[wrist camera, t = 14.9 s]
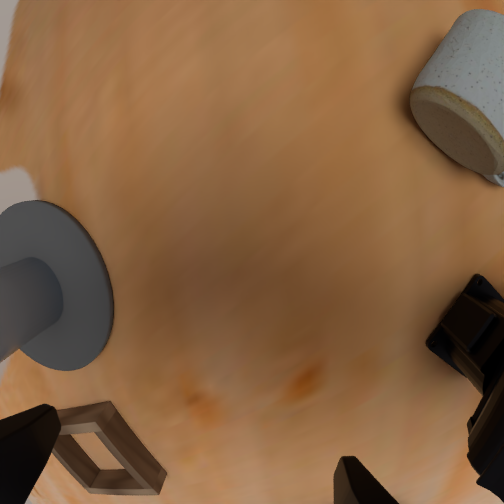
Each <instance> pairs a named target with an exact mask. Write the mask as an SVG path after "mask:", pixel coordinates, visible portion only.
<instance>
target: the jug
mask: <svg viewBox="0 0 504 504" xmlns="http://www.w3.org/2000/svg"><path fill="white" fill-rule="evenodd" d="M62 311H63V294H62V289H61V286H60V283H59V281H58V279H57V277H56V275H55V274H54V272H53V271H52V269H51V268H50V267H49V266H48V265H47V264H46V263H45V262H44V261H42V260H40V259H38V258H35V257H27V258H24V259H21V260H19V261H16V262H13V263H11V264H8V265H5V266H3V267H0V362H2V361H3V360H5V359H6V358H7V357H9V356H10V355H11V354H13V353H14V352H15V351H17V350H18V349H20V348H21V347H22V346H24V345H25V344H26V343H28V342H29V341H31V340H32V339H33V338H35V337H36V336H38V335H39V334H40V333H42V332H43V331H45V330H46V329H47V328H49V327H50V326H52V325H53V324H54V323H56V322H57V321H58V320H59V318H60V317H61V314H62Z"/></svg>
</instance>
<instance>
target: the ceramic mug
mask: <svg viewBox="0 0 504 504" xmlns="http://www.w3.org/2000/svg"><path fill="white" fill-rule="evenodd" d="M410 107H411V110H412V114H413V116H414V118H415V120H416V122H417V123H418V125H419V127H420V128H421V129H422V130H423V132H424V133H425V134H426V135H427V136H428V138H429V139H430V140H431V141H432V142H433V143H434V144H435V145H436V146H437V147H439V148H440V149H441V150H442V151H443V152H444V153H446V154H447V155H448V156H449V157H451V158H452V159H453V160H455V161H456V162H458V163H459V164H461V165H463V166H464V167H466V168H468V169H470V170H472V171H475V172H477V173H480V174H482V175H483V176H484V177H485V178H486V179H487V180H489V181H491V182H493V183H495V184H496V185H499V186H501V187H504V15H502V14H500V13H497V12H494V11H490V10H484V9H474V10H470V11H467V12H465V13H463V14H462V15H460V16H459V17H458V18H457V20H456V21H455V22H454V24H453V26H452V27H451V29H450V31H449V32H448V33H447V35H446V36H445V38H444V39H443V40H442V42H441V43H440V45H439V46H438V48H437V49H436V51H435V53H434V54H433V56H432V57H431V58H430V60H429V61H428V62H427V64H426V65H425V67H424V68H423V69H422V71H421V72H420V74H419V75H418V77H417V79H416V81H415V83H414V86H413V88H412V90H411V94H410ZM497 174H499V175H497Z"/></svg>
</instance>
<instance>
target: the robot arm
mask: <svg viewBox="0 0 504 504" xmlns="http://www.w3.org/2000/svg"><path fill="white" fill-rule="evenodd" d="M479 279H480V281H479V283H478V284H477V282H478V280H479ZM433 341H435V342H434V344H433V345H431V343H432V342H433ZM426 346H427V347H428V348H429V350H431V351H432V352H433V353H435V354H436V355H437V356H439V357H440V358H441V359H443V360H444V361H445V362H447V363H448V364H449V365H451V366H452V367H453V368H454V369H456V370H457V371H458V372H460V373H461V374H462V375H464V376H465V377H466V378H468V379H469V380H470V382H471V383H472V384H473V385H474V386H475V387H476V389H477V390H478V391H479V392H480V394H481V395H482V396H483V397H482V399H481V401H480V403H479V405H478V407H477V409H476V411H475V412H474V414H473V416H472V417H470V419H469V421H468V422H467V428H468V433H469V437H468V448H469V452H468V453H467V457H468V460H469V462H470V464H471V466H472V467H473V468H474V470H475V471H476V472H477V474H479V475H480V477H479V478H478V479H477V481H476V483H477V484H478V485H480V486H482V487H484V488H486V489H488V490H490V491H491V492H492V493H494V494H495V495H496V496H498V497H499V498H500V499H501V500H502V501H503V502H504V299H503V298H502V297H501V296H500V294H499V293H498V292H497V291H496V290H495V289H494V288H493V286H492V285H491V284H490V283H489V282H488V281H487V280H486V279H485V278H484V277H483V276H482V275H480V274H477V275H475V276H474V277H473V279H472V280H471V282H470V283H469V285H468V286H467V287H466V289H465V290H464V292H463V293H462V295H461V296H460V297H459V299H458V300H457V302H456V303H455V304H454V306H453V307H452V308H451V310H450V311H449V312H448V314H447V315H446V316H445V318H444V319H443V320H442V322H441V323H440V324H439V325H438V327H437V328H436V329H435V331H434V332H433V333H432V334H431V336H430V337H429V338H428V339H427V341H426ZM60 431H61V422H60V419H59V417H58V413H57V410H56V409H55V407H53V406H50V405H48V404H42V405H39V406H36V407H34V408H31V409H29V410H26V411H23V412H21V413H18V414H15V415H13V416H10V417H7V418H4V419H2V420H0V504H25V502H26V500H27V498H28V496H29V494H30V493H31V491H32V489H33V487H34V485H35V483H36V482H37V480H38V478H39V476H40V474H41V473H42V471H43V469H44V467H45V465H46V464H47V461H48V459H49V457H50V455H51V452H52V450H53V447H54V445H55V443H56V441H57V438H58V436H59V434H60ZM333 480H334V504H399V503H398V502H397V501H396V500H395V499H394V498H393V497H392V496H391V495H390V494H389V493H388V491H387V490H386V489H385V488H384V487H383V486H382V485H381V484H380V483H379V482H378V481H377V480H376V479H375V477H374V476H373V475H372V474H371V473H370V472H369V471H368V470H367V469H366V468H365V467H364V465H363V464H362V463H361V462H360V461H359V460H358V459H357V458H356V457H355V456H342V457H341V458H340V460H339V462H338V465H337V467H336V470H335V473H334V479H333Z"/></svg>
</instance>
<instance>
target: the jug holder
mask: <svg viewBox="0 0 504 504" xmlns="http://www.w3.org/2000/svg"><path fill="white" fill-rule="evenodd" d="M57 413H58V417H59V419H60V422H61V431H60V434H59V436H58V438H57V441H56V443H55V445H54V447H53V450H52V453H53V455H54V456H55V457H56V458H57V459H58V460H59V461H60V463H61V464H62V465H63V466H64V467H65V468H66V469H67V470H68V472H69V473H70V474H71V475H72V476H73V477H74V478H75V479H76V480H77V481H78V482H79V483H80V484H81V485H82V486H83V487H84V488H85V489H86V490H87V491H88V492H89V493H91V494H107V495H159V494H160V491H161V489H162V486H163V483H164V481H165V478H166V475H167V472H166V471H165V470H164V469H163V468H162V467H161V466H160V465H159V463H158V462H157V461H156V460H155V459H154V458H153V456H152V455H151V454H150V453H149V452H148V450H147V449H146V448H145V447H144V445H143V444H142V443H141V442H140V441H139V439H138V438H137V437H136V435H135V434H134V433H133V432H132V430H131V429H130V428H129V426H128V425H127V424H126V422H125V421H124V420H123V418H122V417H121V416H120V414H119V413H118V412H117V410H116V409H115V407H114V406H113V404H112V403H111V402H110V401H108V402H103V403H98V404H93V405H87V406H82V407H76V408H70V409H64V410H57ZM90 432H94V433H95V434H96V435H97V436H98V438H99V439H100V440H101V441H102V442H103V444H104V445H105V446H106V447H107V449H108V450H109V451H110V452H111V453H112V454H113V456H114V457H115V458H116V459H117V460H118V461H119V462H120V464H121V465H122V466H123V467H124V468H125V469H126V470H100V469H99V468H98V467H97V466H96V465H95V464H94V463H93V461H92V460H91V459H90V458H89V457H88V456H87V455H86V453H85V452H84V451H83V450H82V449H81V447H80V446H79V445H78V444H77V443H76V441H75V440H74V439H73V438H72V436H71V435H70V434H79V433H90Z"/></svg>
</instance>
